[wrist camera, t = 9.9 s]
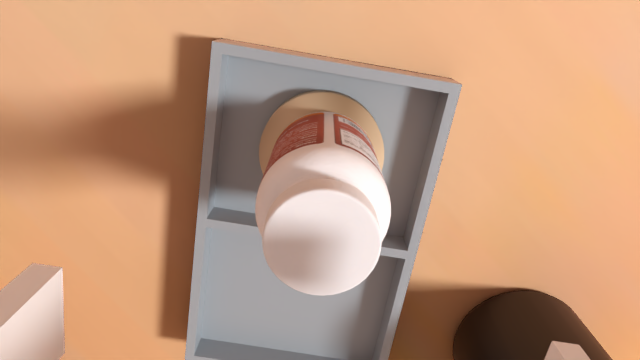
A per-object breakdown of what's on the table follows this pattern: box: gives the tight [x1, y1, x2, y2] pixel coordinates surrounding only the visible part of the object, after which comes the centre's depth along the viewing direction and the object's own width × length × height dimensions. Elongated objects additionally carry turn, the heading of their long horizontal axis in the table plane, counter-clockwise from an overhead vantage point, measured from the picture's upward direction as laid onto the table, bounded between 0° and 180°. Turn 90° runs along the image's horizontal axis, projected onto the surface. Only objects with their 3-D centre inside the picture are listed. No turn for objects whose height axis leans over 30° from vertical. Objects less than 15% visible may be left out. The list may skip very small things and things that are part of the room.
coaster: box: [259, 90, 384, 175], centre depth 29 cm, size 8×8×1 cm
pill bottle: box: [255, 112, 391, 296], centre depth 23 cm, size 6×6×11 cm
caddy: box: [185, 38, 462, 360], centre depth 31 cm, size 14×22×2 cm, turn 170°
